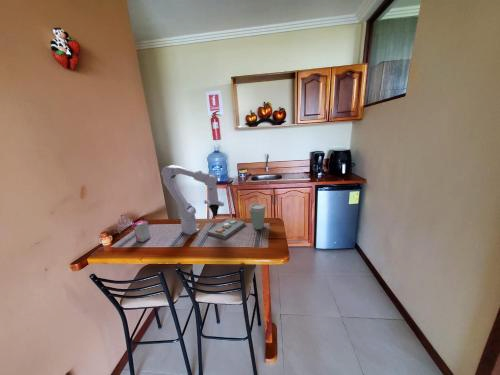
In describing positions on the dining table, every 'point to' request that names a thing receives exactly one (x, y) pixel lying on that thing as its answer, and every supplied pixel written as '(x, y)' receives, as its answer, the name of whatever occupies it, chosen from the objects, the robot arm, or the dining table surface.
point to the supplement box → (141, 231)
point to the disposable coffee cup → (257, 215)
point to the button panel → (228, 231)
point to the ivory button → (226, 225)
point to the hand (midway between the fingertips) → (215, 215)
